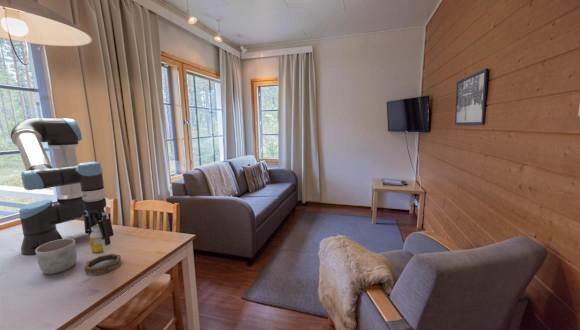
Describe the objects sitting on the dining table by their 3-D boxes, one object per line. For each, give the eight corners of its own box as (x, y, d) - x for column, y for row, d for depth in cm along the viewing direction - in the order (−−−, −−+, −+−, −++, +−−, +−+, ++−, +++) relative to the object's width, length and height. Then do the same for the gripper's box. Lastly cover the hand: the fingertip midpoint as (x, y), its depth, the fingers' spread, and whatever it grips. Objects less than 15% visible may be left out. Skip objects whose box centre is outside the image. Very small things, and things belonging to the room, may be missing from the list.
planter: (45, 280, 98) (40, 255, 96) (35, 271, 105) (31, 247, 103) (83, 265, 108) (79, 242, 107) (72, 257, 115) (69, 235, 113)
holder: (78, 271, 104) (77, 266, 103) (108, 257, 115) (107, 251, 115) (98, 277, 100) (97, 272, 99) (127, 261, 111) (126, 256, 111)
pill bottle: (99, 247, 109) (95, 223, 107) (114, 247, 110) (110, 222, 108) (88, 255, 103) (84, 229, 101) (104, 254, 103) (101, 228, 101)
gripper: (68, 199, 102) (76, 250, 106) (101, 204, 96) (108, 258, 99) (88, 194, 109) (95, 243, 113) (119, 198, 103) (126, 249, 106)
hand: (101, 250), depth 106 cm, fingers closed on pill bottle, 6 cm apart
